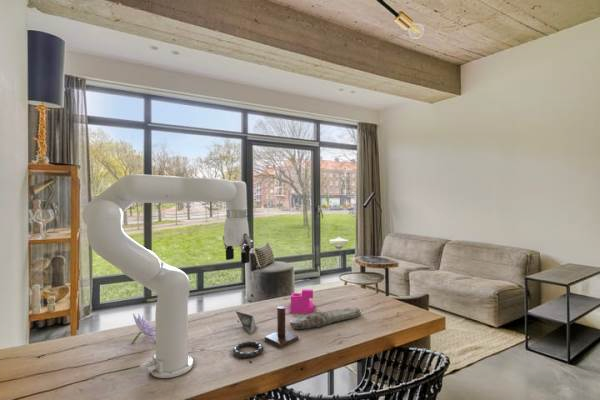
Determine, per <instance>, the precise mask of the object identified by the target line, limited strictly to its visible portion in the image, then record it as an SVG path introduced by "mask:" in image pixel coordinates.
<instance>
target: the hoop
mask: <svg viewBox="0 0 600 400" xmlns="http://www.w3.org/2000/svg"><path fill="white" fill-rule="evenodd" d="M244 347H245V348H246V347H255V348H257V349H256V350H254V351H252V352H241V351H239V350H240V349H242V348H244ZM232 351H233V355H234V356H236V357H237V358H240V359H253V358H255V357H257V356H260V355H261V354H262V352H263V351H264V347H263V344H262V343H260V342H258V341H253V340H252V341H251V340H248V341H242V342H240V343H238V344H236V345H235V346H234V347H233V349H232Z"/></svg>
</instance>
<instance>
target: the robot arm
mask: <svg viewBox="0 0 600 400" xmlns="http://www.w3.org/2000/svg"><path fill="white" fill-rule="evenodd" d="M247 197H248V196H247V183H246V182H245V181H243V180H229V179H226V178H225V179H223V178H206V177H205V178H204V177H189V176H176V175H158V174H139V173H137V174H136V173H135V174H134V173H133V174H128V175H124V176H123V177H120V178H119V179H118V180H116V181H115V182H114V183H113V184H111V185H110V186H108V187H107V188H106V189H105V190H103V191H102V192H101V193H100V194H98V195H97V196H95V197H94V198H93V199H92V200H90V201H89V202H87V203H86V205H84V207H83V209H82V212H81V218H82V220H83V222H84V224H85V225H86V236H87V240H88V243H89V246H90V248H91V249H92V250H93V251H94V252H95V254H97V255H98V256H99V257H100V258H102V259H103V260H104V261H106V262H108V263H109V264H111V265H112V266H114V267H115V268H116V269H118V270H120V272H121V273H122V274H124V276H126V277H128V278H130V279H131V280H133V281H134V282H137V283H138V284H140V285H141V286H143V287H145V288H147V289H148V290H150V291H151V292H153V293H154V294H156V295H157V297H156V298H157V299H156V305H155V314H154V315H155V317H154V319H155V321H154V322H155V326H156V329H155V331H156V332H155V333H156V335H155V339H156V341H155V354H154V355H152V359H150V360H149V361H148V362H145V363H141V364H140V365H138V370H139V372H140V373H142V372H144V371H146V372H147V373H151V375H152V376H153V377H155V378H157V379H171V378H176V377H178V376H182V375H184V374H186V373H187V372H189V371H190V370H191V369H192V368H193V366H194V359H193V357H192V356H190V355H189V312H188V311H189V310H188V308H189V296H190V289H191V282H190V279H189V276H188V275H187V273H185V272H184V271H183V270H182V269H180V268H177V267H175V266H172V265H169V264H168V263H166V262H164V261H163V260H161V259H160V258H159V257H158V255H157V254H156V253H155V252H153V251H152V250H150V249H147V248H146V247H144V246H143V245H141V244H140V243H138V242H137V241H135V240H134V239H133V238H131V237H130V236H129V235H127V234H126V233H125V231H124V229H123V224H122V223H123V217H124V216H123V214H124V212H126V210H128V209H129V208H130V207H131V206H133V204H135V203H136V204H137V203H138V204H141V203H142V204H155V203H156V204H188V203H202V202H203V203H206V202H207V203H210V202H211V203H214V202H216V203H225V219H224V227H223V236H222V241H223V246H224V249H225V260H226V261H229V260H234V259H235V253H234V251H235V249H234V247H235V248H238V247H239V248H240V249H241V253H240V254H241V255H240V258H241V259H240V260H241V261H240V262H241V264H243V265H244V264H248V263H250V261H251V260H250V252H251V250H252V248H253V243H254V240H253V239H252V238H251V237H250V230H249V221H248V200H247Z"/></svg>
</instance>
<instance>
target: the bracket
mask: <svg viewBox="0 0 600 400" xmlns="http://www.w3.org/2000/svg"><path fill="white" fill-rule="evenodd" d="M310 299H311V300H310ZM312 299H314V289H311V288H309V289H304V288H303V289H301V292H291V294H290V313H291V314H310V313H313V312H314V303H313V300H312Z"/></svg>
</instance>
